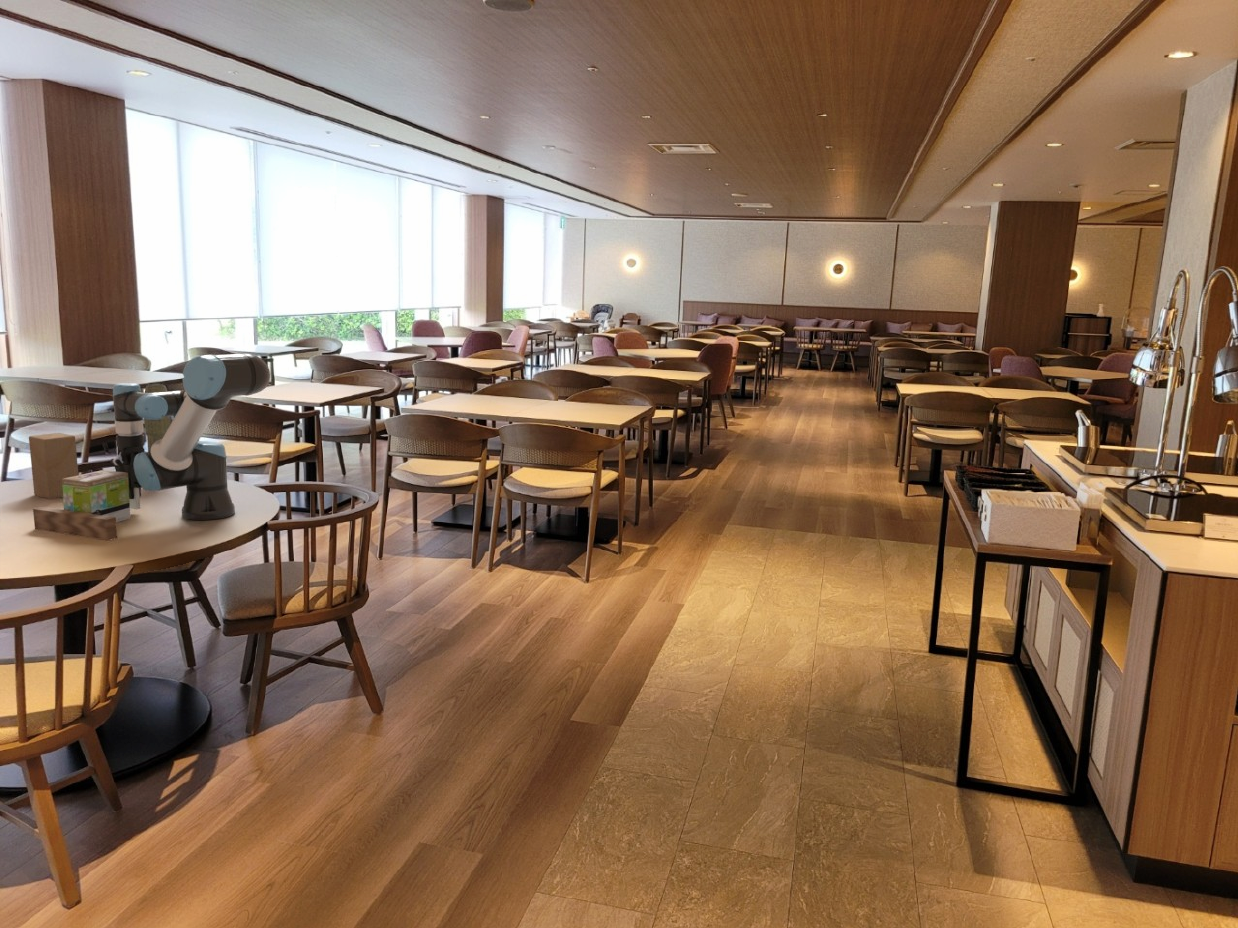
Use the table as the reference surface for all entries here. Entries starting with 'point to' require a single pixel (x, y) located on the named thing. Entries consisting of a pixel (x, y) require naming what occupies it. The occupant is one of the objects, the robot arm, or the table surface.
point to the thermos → (156, 427)
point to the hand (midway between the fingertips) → (135, 508)
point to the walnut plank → (75, 523)
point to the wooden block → (52, 462)
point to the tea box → (98, 494)
